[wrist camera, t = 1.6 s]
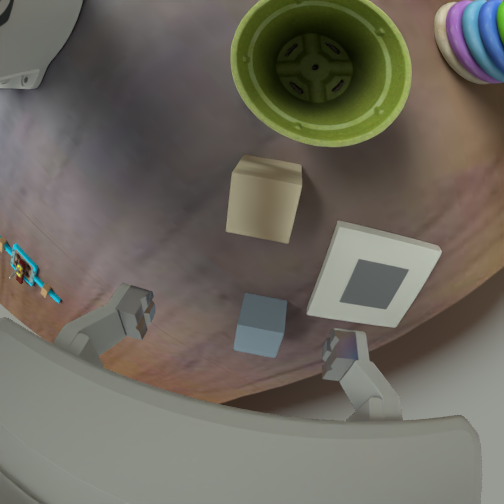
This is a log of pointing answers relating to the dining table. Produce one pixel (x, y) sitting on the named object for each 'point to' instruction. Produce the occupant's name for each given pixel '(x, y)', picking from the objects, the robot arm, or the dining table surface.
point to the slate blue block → (260, 325)
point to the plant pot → (321, 69)
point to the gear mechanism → (25, 268)
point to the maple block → (264, 198)
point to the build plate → (371, 275)
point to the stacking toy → (472, 39)
